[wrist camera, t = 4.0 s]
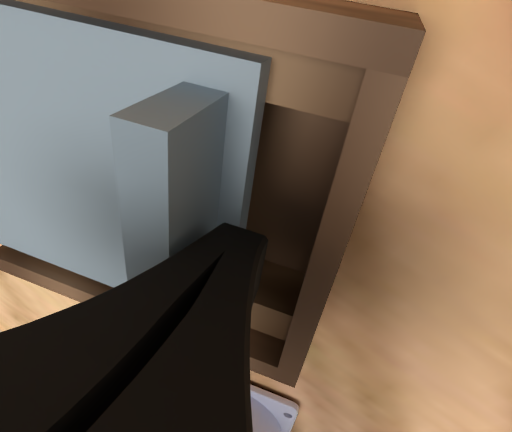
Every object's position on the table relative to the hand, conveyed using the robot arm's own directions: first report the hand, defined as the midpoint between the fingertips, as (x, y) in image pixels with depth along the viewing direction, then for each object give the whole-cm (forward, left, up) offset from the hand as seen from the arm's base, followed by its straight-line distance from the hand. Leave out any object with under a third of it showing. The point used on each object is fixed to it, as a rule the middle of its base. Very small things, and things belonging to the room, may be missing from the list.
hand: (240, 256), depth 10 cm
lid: (0, +6, -2) cm, 6 cm away
